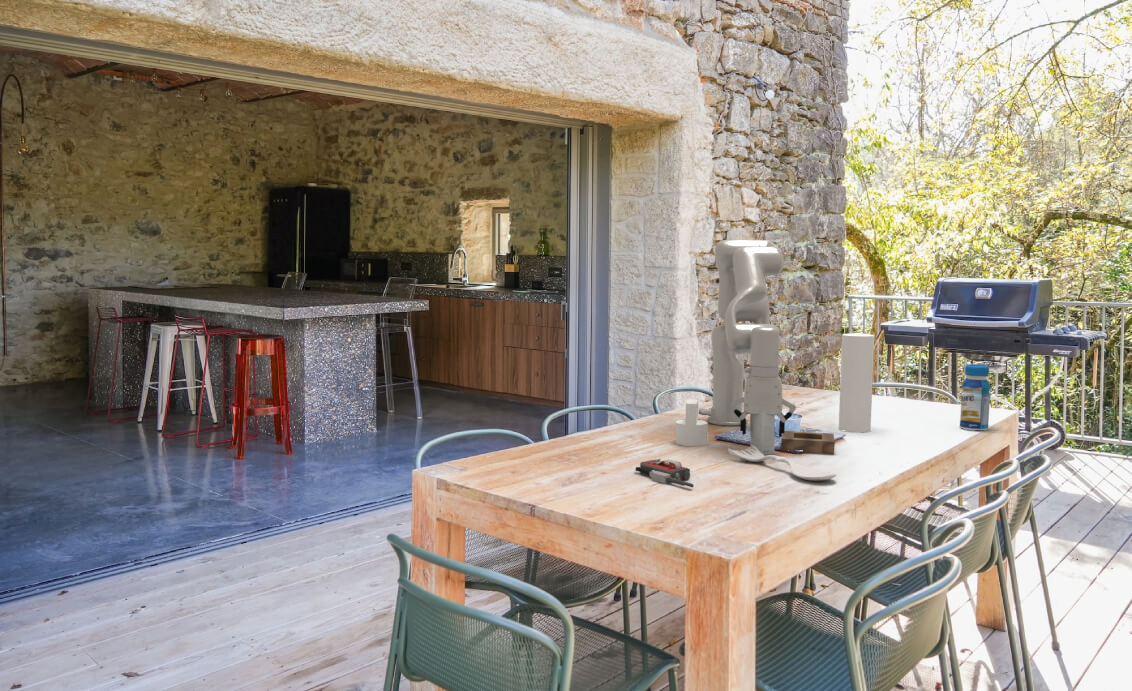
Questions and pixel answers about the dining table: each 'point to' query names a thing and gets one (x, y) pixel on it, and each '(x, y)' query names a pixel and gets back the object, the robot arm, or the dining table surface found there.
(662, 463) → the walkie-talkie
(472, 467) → the dining table surface
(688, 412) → the cylinder with rectangular tab
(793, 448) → the socket block
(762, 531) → the dining table surface
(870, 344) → the tall grey rectangular pillar
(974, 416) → the beverage bottle
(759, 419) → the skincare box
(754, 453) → the beige plastic utensil
